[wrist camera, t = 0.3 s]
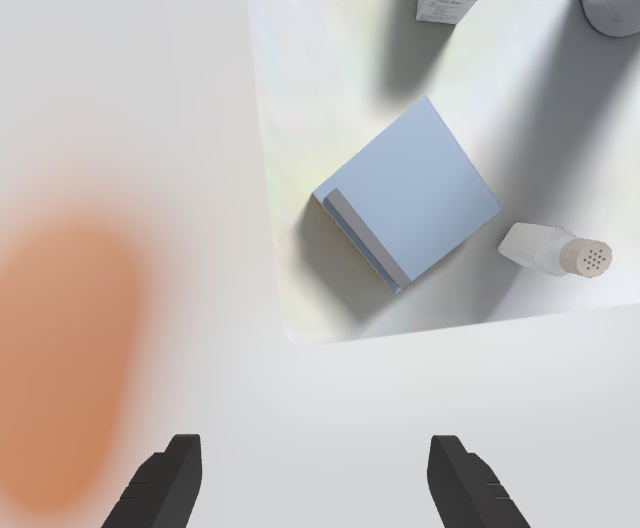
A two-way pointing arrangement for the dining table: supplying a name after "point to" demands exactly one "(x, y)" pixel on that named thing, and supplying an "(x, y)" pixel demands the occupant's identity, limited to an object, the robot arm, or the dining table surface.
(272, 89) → the dining table surface
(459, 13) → the medicine box
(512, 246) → the pepper shaker
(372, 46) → the dining table surface
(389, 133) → the lid
